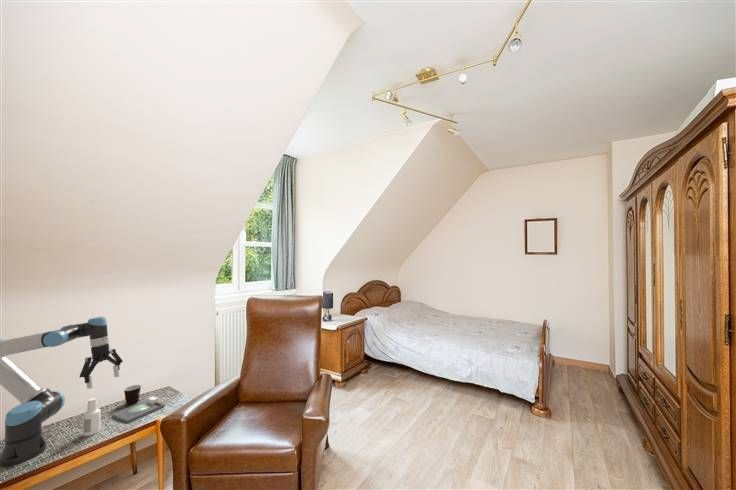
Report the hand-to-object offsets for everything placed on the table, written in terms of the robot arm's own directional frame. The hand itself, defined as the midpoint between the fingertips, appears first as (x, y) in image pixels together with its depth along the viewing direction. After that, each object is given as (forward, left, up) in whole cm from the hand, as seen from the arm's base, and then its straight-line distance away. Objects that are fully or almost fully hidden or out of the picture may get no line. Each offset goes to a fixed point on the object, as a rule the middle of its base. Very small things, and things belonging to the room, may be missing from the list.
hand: (103, 382), depth 164 cm
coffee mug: (+25, +20, -26) cm, 41 cm away
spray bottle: (-4, +2, -26) cm, 26 cm away
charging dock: (+19, +3, -26) cm, 32 cm away
